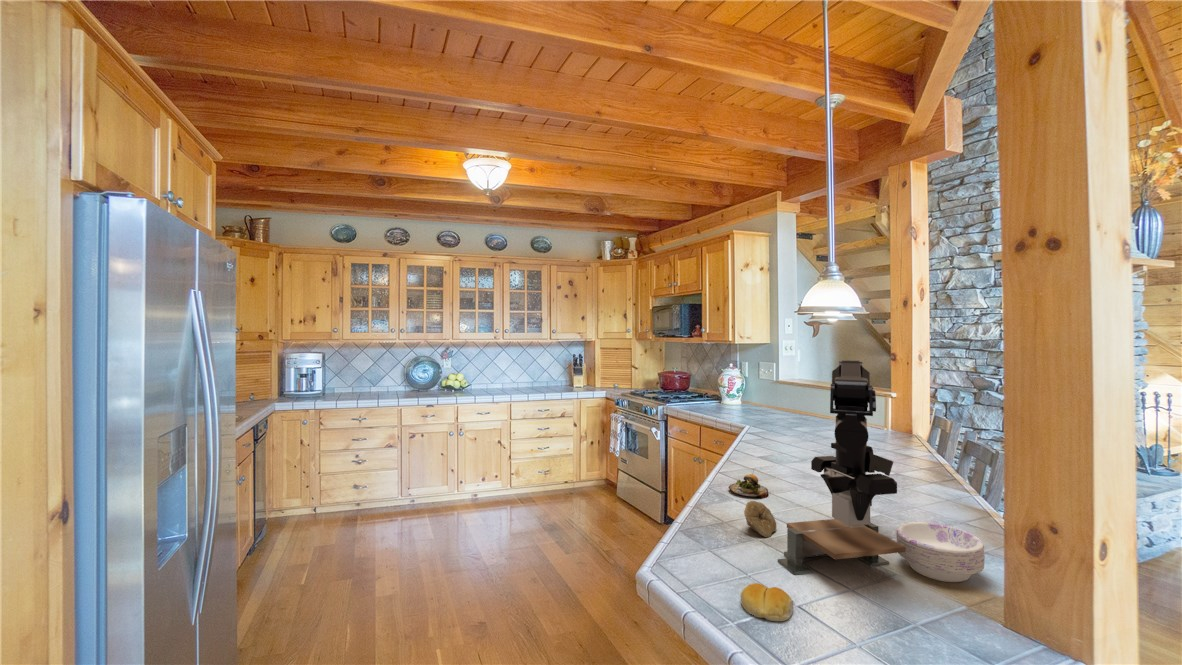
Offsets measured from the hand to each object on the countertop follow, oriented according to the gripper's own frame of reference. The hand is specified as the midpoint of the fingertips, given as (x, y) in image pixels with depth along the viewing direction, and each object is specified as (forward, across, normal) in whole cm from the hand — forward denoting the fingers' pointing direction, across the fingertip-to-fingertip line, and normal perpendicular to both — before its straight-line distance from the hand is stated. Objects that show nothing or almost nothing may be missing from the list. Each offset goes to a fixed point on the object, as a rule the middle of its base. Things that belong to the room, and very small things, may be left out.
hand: (850, 515), depth 104 cm
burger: (+13, +53, -5) cm, 55 cm away
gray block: (+1, 0, 0) cm, 1 cm away
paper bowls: (+13, -2, -19) cm, 23 cm away
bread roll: (+13, -8, +23) cm, 28 cm away
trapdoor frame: (+12, +7, 0) cm, 14 cm away
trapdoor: (+10, +3, 0) cm, 11 cm away
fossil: (+13, +25, +6) cm, 29 cm away
